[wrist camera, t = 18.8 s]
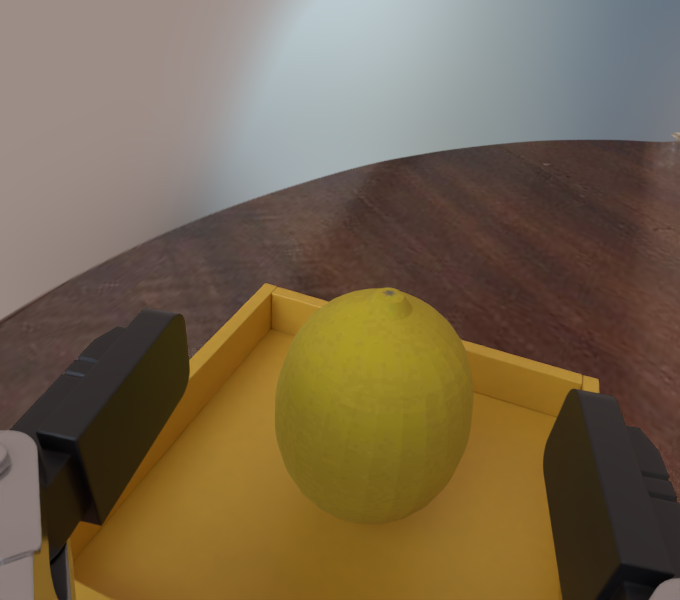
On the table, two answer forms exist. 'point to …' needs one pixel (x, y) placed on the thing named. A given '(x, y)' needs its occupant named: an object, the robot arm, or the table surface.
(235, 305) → the table surface
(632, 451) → the robot arm
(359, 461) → the lemon
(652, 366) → the table surface
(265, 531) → the yellow tray
